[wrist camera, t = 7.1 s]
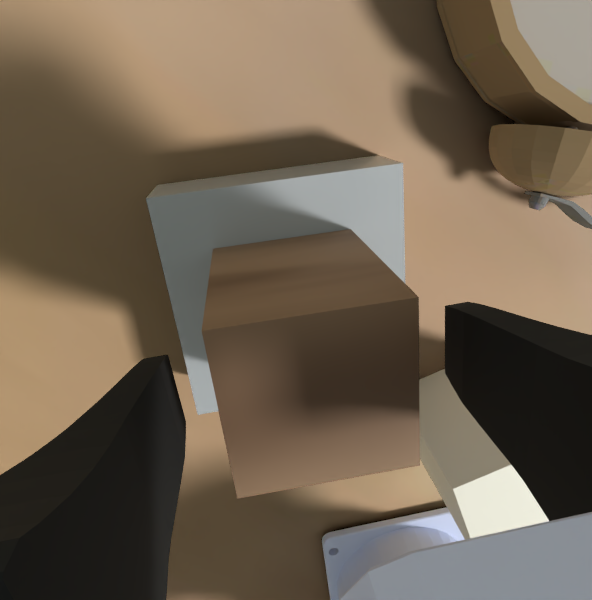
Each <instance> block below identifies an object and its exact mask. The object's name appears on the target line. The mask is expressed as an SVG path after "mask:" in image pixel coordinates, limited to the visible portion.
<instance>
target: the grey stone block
mask: <svg viewBox="0 0 592 600" xmlns="http://www.w3.org/2000/svg"><path fill="white" fill-rule="evenodd" d="M146 201H147V205H148V209H149V213H150V217H151V222H152V226H153V230H154V234H155V238H156V242H157V247H158V251H159V255H160V259H161V263H162V267H163V272H164V276H165V280H166V284H167V288H168V292H169V297H170V301H171V305H172V309H173V313H174V317H175V322H176V326H177V330H178V334H179V338H180V342H181V347H182V351H183V355H184V359H185V363H186V367H187V372H188V376H189V380H190V384H191V388H192V393H193V397H194V401H195V405H196V409H197V413H198V415H199V414H205V413H211V412H216V411H218V406H217V401H216V396H215V392H214V387H213V382H212V378H211V373H210V368H209V364H208V359H207V354H206V350H205V345H204V340H203V336H202V324H203V316H204V309H205V302H206V295H207V288H208V280H209V273H210V266H211V259H212V252H213V249H214V248H221V247H228V246H235V245H242V244H249V243H256V242H263V241H270V240H277V239H284V238H291V237H298V236H305V235H312V234H319V233H326V232H333V231H340V230H347V229H351V230H352V231H353V232H354V233H355V234H356V235H357V236H358V237H359V238H360V239H361V240H362V241H363V242H364V243H365V244H366V245H367V246H368V247H369V248H370V249H371V250H372V251H373V252H374V253H375V254H376V255H377V256H378V257H379V258H380V259H381V260H382V261H383V262H384V263H385V264H386V265H387V266H388V267H389V268H390V269H391V270H392V271H393V272H394V273H395V274H396V275H397V276H398V277H399V278H400V279H401V280H402V281H403V282H404V283H405V245H404V192H403V163H401V162H398V161H395V160H392V159H389V158H386V157H383V156H379V155H376V156H368V157H361V158H354V159H346V160H339V161H331V162H324V163H316V164H309V165H302V166H294V167H287V168H279V169H272V170H264V171H257V172H249V173H242V174H235V175H227V176H220V177H212V178H205V179H197V180H190V181H183V182H175V183H168V184H160V185H157V186H156V187H155V188H154V189H153V190H152V192H151V193H150V194H149V195H148V196H147V197H146Z"/></svg>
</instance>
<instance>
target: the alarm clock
mask: <svg viewBox="0 0 592 600" xmlns="http://www.w3.org/2000/svg"><path fill="white" fill-rule="evenodd" d="M437 9H438V12H439V15H440V18H441V21H442V24H443V27H444V30H445V33H446V36H447V39H448V42H449V45H450V48H451V52H452V55H453V58H454V61H455V62H456V63H457V65H458V66H459V67H460V69H461V70H462V72H463V73H464V74H465V76H466V77H467V78H468V80H469V81H470V83H471V84H472V85H473V87H474V88H475V89H476V91H477V92H478V93H479V95H480V96H481V98H482V99H483V100H484V101H485V102H486V103H488V104H489V105H491V106H492V107H494V108H495V109H497V110H498V111H500V112H501V113H503V114H505V115H506V116H508V117H509V118H511V119H512V120H514V121H515V122H517V123H518V124H499V125H494V126H492V127H491V131H490V136H489V153H490V159H491V161H492V163H493V165H494V166H495V168H496V169H497V171H498V172H499V173H500V174H501V175H502V176H503V177H505V178H506V179H507V180H509V181H511V182H512V183H514V184H516V185H518V186H520V187H522V188H524V189H527V190H530V191H533V192H529V191H525V193H524V194H528V195H531V197H530V199H529V208H532V209H536V210H541V209H542V208H544V207H545V206H546V204H547V202H548V201H550V202H553V203H555V204H556V205H557V206H558V207H559V208H560V209H561V210H562V211H563V212H564V213H565V214H566V215H567V216H568V217H570V218H571V219H572V220H573V221H575V222H577V223H579V224H580V225H582V226H584V227H586V228H590V229H592V217H591V216H590V215H589V214H588V213H587V212H586V211H585V210H584V209H583V208H581V207H580V206H578V205H577V204H576V203H574V202H572V201H568V200H565V199H561V198H558V197H554V196H583V195H589V194H592V0H437ZM550 195H554V196H550Z"/></svg>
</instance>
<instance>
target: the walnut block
mask: <svg viewBox="0 0 592 600" xmlns="http://www.w3.org/2000/svg"><path fill="white" fill-rule="evenodd" d="M202 336H203V340H204V345H205V350H206V354H207V359H208V364H209V368H210V373H211V378H212V382H213V387H214V392H215V396H216V401H217V406H218V411H219V415H220V420H221V425H222V429H223V434H224V439H225V443H226V448H227V453H228V457H229V462H230V467H231V471H232V476H233V481H234V485H235V490H236V495H237V499H239V498H244V497H250V496H255V495H261V494H266V493H272V492H277V491H283V490H288V489H293V488H299V487H304V486H310V485H315V484H321V483H326V482H332V481H337V480H343V479H348V478H354V477H359V476H364V475H370V474H375V473H381V472H386V471H392V470H397V469H403V468H408V467H414V466H419V465H420V415H419V299H418V296H417V295H416V294H415V293H414V292H413V291H412V290H411V289H410V288H409V287H408V286H407V285H406V284H405V283H404V282H403V281H402V280H401V279H400V278H399V277H398V276H397V275H396V274H395V273H394V272H393V271H392V270H391V269H390V268H389V267H388V266H387V265H386V264H385V263H384V262H383V261H382V260H381V259H380V258H379V257H378V256H377V255H376V254H375V253H374V252H373V251H372V250H371V249H370V248H369V247H368V246H367V245H366V244H365V243H364V242H363V241H362V240H361V239H360V238H359V237H358V236H357V235H356V234H355V233H354V232H353V231H352V230H351V229H347V230H340V231H333V232H326V233H319V234H312V235H305V236H298V237H291V238H284V239H277V240H270V241H263V242H256V243H249V244H242V245H235V246H228V247H221V248H214V249H213V252H212V259H211V266H210V273H209V280H208V288H207V295H206V302H205V309H204V316H203V324H202Z"/></svg>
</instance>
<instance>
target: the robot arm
mask: <svg viewBox="0 0 592 600" xmlns="http://www.w3.org/2000/svg"><path fill="white" fill-rule="evenodd" d="M445 374H446V376H447V378H448V379H449V381H450V383H451V385H452V387H453V388H454V390H455V392H456V393H457V395H458V397H459V398H460V400H461V402H462V403H463V405H464V406H465V407H466V409H467V410H468V411H469V412H470V414H471V415H472V416H473V417H474V419H475V420H476V421H477V423H478V424H479V425H480V426H481V428H482V429H483V430H484V431H485V433H486V434H487V435H488V436H489V438H490V439H491V440H492V441H493V443H494V444H495V445H496V446H497V448H498V449H499V450H500V451H501V452H502V454H503V455H504V456H505V457H506V459H507V460H508V461H509V462H510V464H511V465H512V466H513V467H514V469H515V470H516V472H517V473H518V474H519V476H520V477H521V478H522V480H523V481H524V482H525V484H526V485H527V487H528V489H529V490H530V492H531V493H532V495H533V496H534V498H535V499H536V501H537V503H538V504H539V506H540V507H541V509H542V510H543V512H544V514H545V515H546V517H547V518H548V520H549V521H548V522H543V523H539V524H534V525H529V526H525V527H520V528H516V529H511V530H506V531H502V532H497V533H493V534H488V535H483V536H479V537H474V538H470V539H464V537H463V535H462V533H461V532H460V530H459V528H458V526H457V524H456V523H455V521H454V519H453V517H452V515H451V514H450V512H449V510H448V508H447V507H445V508H441V509H436V510H431V511H426V512H422V513H417V514H412V515H408V516H403V517H398V518H393V519H389V520H384V521H379V522H375V523H370V524H365V525H360V526H356V527H351V528H346V529H342V530H337V531H332V532H329V533H326V534H325V535H324V536H323V538H322V546H323V553H324V560H325V567H326V574H327V581H328V588H329V595H330V600H592V335H589V334H584V333H580V332H576V331H572V330H568V329H564V328H561V327H557V326H553V325H550V324H546V323H543V322H539V321H536V320H532V319H529V318H526V317H522V316H519V315H516V314H513V313H509V312H506V311H503V310H499V309H496V308H492V307H489V306H485V305H481V304H477V303H471V302H465V303H459V304H453V305H448V306H445ZM185 439H186V421H185V417H184V413H183V409H182V406H181V402H180V398H179V394H178V391H177V387H176V383H175V380H174V376H173V372H172V368H171V365H170V361H169V357H168V355H163V356H157V357H152V358H146V359H143V360H141V361H140V362H139V363H138V364H136V365H135V366H134V367H133V368H132V369H131V370H130V371H129V372H128V373H127V374H126V375H125V376H124V377H123V378H122V379H121V380H120V381H119V382H118V383H117V384H116V385H115V386H114V387H113V388H112V389H111V390H110V391H109V392H107V393H106V394H105V395H104V396H103V397H102V398H101V399H100V400H99V401H98V402H97V403H96V404H95V405H94V406H92V407H91V408H90V409H89V410H88V411H87V412H86V413H84V414H83V415H82V416H81V417H80V418H79V419H78V420H76V421H75V422H74V423H73V424H72V425H71V426H70V427H68V428H67V429H66V430H65V431H63V432H62V433H61V434H60V435H58V436H57V437H56V438H54V439H53V440H52V441H50V442H49V443H48V444H46V445H45V446H43V447H42V448H41V449H39V450H38V451H37V452H35V453H34V454H32V455H31V456H29V457H28V458H27V459H25V460H24V461H22V462H20V463H19V464H17V465H16V466H14V467H12V468H11V469H9V470H8V471H6V472H4V473H3V474H1V475H0V600H166V593H167V577H168V561H169V552H170V544H171V536H172V530H173V525H174V519H175V513H176V507H177V501H178V495H179V490H180V484H181V478H182V471H183V465H184V459H185ZM332 548H333V549H332Z"/></svg>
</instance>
